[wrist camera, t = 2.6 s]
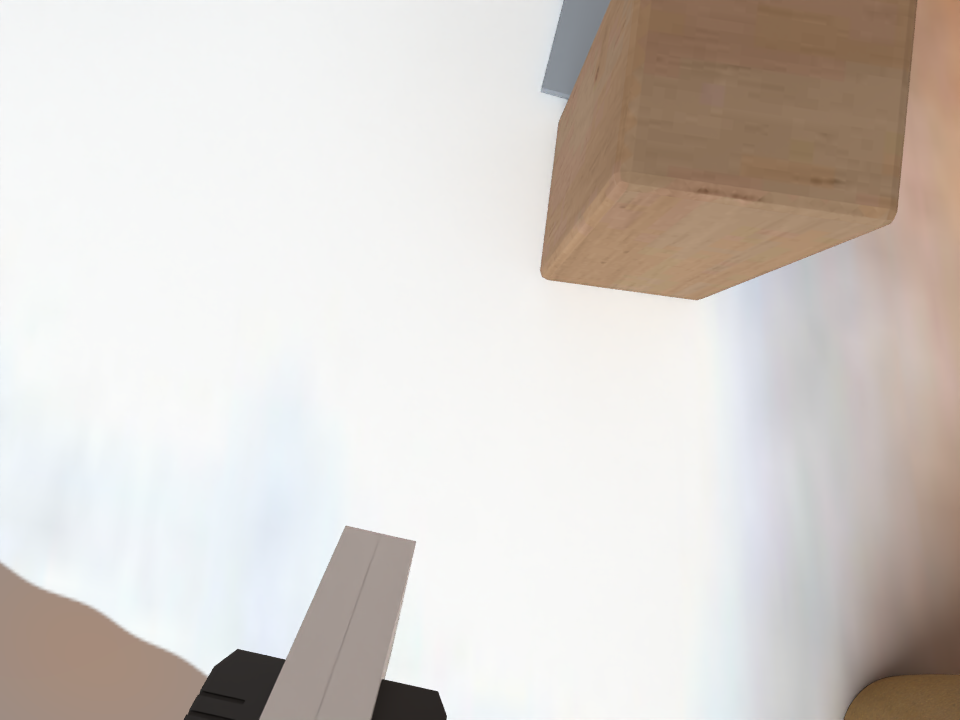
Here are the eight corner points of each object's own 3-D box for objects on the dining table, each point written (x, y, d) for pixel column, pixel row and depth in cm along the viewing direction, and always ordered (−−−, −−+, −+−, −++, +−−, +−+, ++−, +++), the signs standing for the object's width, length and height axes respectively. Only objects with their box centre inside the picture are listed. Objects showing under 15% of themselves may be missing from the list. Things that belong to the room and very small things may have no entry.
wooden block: (558, 117, 46) (649, -100, 26) (719, 141, 47) (928, -55, 27) (538, 279, 46) (615, 184, 26) (701, 302, 46) (902, 225, 26)
